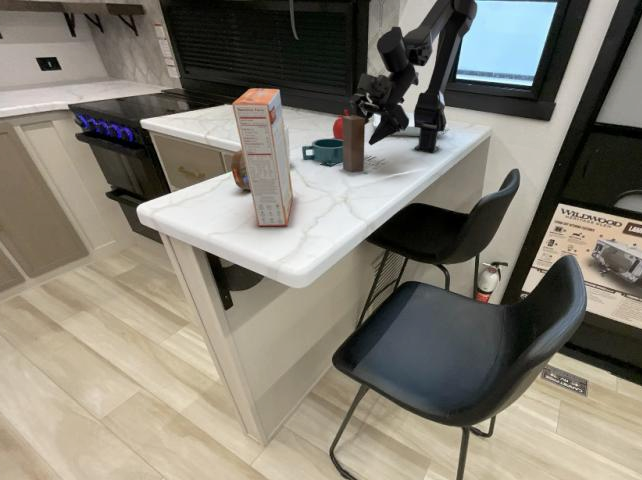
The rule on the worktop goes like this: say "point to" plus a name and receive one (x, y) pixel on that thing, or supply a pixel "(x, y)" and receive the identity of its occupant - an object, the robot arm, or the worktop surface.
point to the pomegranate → (339, 127)
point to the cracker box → (265, 154)
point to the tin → (240, 170)
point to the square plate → (410, 128)
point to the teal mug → (325, 151)
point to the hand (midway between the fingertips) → (359, 139)
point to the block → (353, 143)
